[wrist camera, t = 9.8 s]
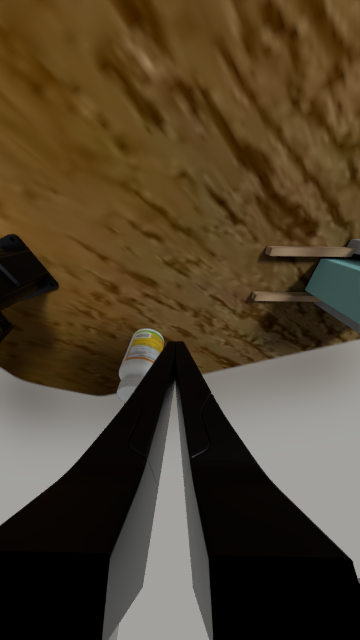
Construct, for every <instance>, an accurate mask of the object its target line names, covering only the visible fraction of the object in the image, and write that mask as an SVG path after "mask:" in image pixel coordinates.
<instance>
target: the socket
mask: <svg viewBox="0 0 360 640" xmlns="http://www.w3.org/2000/svg"><path fill="white" fill-rule="evenodd" d="M347 247H348V248H353V249H356V250H355V252H354V253H355V254H360V239H351V240H350V242H349V243H348V245H347ZM314 304H316V305H317V306H319V307H320V308H322V309H323V310H325V311H326V312H328V313H329V314H330V315H332V316H333V317H335V318H336V319H338V320H339V321H341V322H342V323H344V324H345V325H347V326H348V327H350V328H351V329H353V330H354V331H356V332H357V333H358V334H360V324H358V323H357V322H355V321H354V320H352V319H350V318H349V317H347V316H346V315H344V314H342V313H341V312H339V311H338V310H336V309H334V308H333V307H331V306H330V305H328V304H326V303H325V302H314Z"/></svg>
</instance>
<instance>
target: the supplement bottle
mask: <svg viewBox="0 0 360 640" xmlns="http://www.w3.org/2000/svg"><path fill="white" fill-rule="evenodd" d="M163 347H164V339H163V337H162V335H161V334H160V333H158V332H157V331H155V330H152V329H140V330H138V331H136V332H135V333H134V335H133V337H132V339H131V341H130V344H129V346H128V349H127V351H126V354H125V356H124V359H123V361H122V364H121V366H120V369H119V377H120V379H121V382H120V384H119V387H118V390H117V396H118V397H119V398H120V399H121V400H123V401H125V402H127V400H128V399H129V397H130V396H131V395H132V393H133V392H134V390H135V389H136V387H137V386H138V385H139V383H140V382H141V380H142V379H143V377H144V376H145V374H146V373H147V372H148V370H149V369H150V367H151V366H152V364H153V363H154V361H155V360H156V358H157V357H158V356H159V354H160V353H161V351H162V350H163Z"/></svg>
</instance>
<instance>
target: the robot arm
mask: <svg viewBox="0 0 360 640" xmlns="http://www.w3.org/2000/svg"><path fill="white" fill-rule="evenodd" d="M13 238H14V239H15V240H14V239H13ZM52 283H53V284H54V285H53V284H52ZM57 286H58V283H57V282H56V281H55V279H54V278H53V277H52V276H51V275H50V273H49V272H48V271H47V270H46V269H45V268H44V266H43V265H42V264H41V263H40V262H39V261H38V259H37V258H36V257H35V256H34V255H33V253H32V252H31V251H30V250H29V249H28V248H27V246H26V245H25V244H24V243H23V242H22V240H21V239H20V238H19V237H18V236H17V235H15V234H9V235H7V236H5V237H3V238H1V239H0V343H1V341H2V340H3V339H4V338H5V337H6V336H7V335H8V333H9V332H10V331H11V330H12V329H13V328H14V326H13V325H12V323H10V322H9V321H8V320H7V319H6V317H5V316H4V315H3V314H2V312H1V311H2V310H3V309H5V308H7V307H9V306H11V305H13V304H15V303H16V302H18V301H20V300H26V299H28V298H31V297H34V296H36V295H39V294H41V293H44V292H46V291H49V290H51V289H54V288H56V287H57ZM174 384H175V385H176V397H177V408H178V419H179V430H180V442H181V453H182V465H183V477H184V487H185V500H186V511H187V523H188V534H189V545H190V557H191V568H192V578H193V579H192V580H193V589H194V592H195V596H196V598H197V602H198V605H199V608H200V611H201V615H202V618H203V621H204V624H205V627H206V631H207V634H208V637H209V640H360V578H357V575H356V572H355V569H354V565H353V561H352V560H351V559H350V558H349V557H348V556H347V555H346V554H345V553H344V552H343V551H342V550H341V549H340V548H339V547H338V546H337V545H336V544H335V543H334V542H333V541H332V540H331V539H330V538H329V537H328V536H327V535H325V533H324V532H323V531H321V529H319V527H317V526H316V525H315V524H314V523H313V522H312V521H311V520H310V519H309V518H308V517H307V516H306V515H305V514H304V513H303V512H302V511H301V510H300V509H299V508H298V507H297V506H296V505H295V504H294V503H293V502H292V501H290V499H289V498H288V497H287V496H286V495H285V494H284V493H283V492H281V490H279V488H278V487H277V486H276V485H275V484H274V483H273V482H272V481H271V480H270V479H269V477H268V476H267V475H266V474H265V472H264V471H263V470H262V469H261V467H260V466H259V465H258V463H257V462H256V460H255V459H254V457H253V456H252V455H251V453H250V452H249V450H248V449H247V447H246V446H245V445H244V443H243V442H242V440H241V439H240V438H239V436H238V435H237V433H236V432H235V430H234V429H233V427H232V426H231V424H230V423H229V421H228V420H227V418H226V417H225V415H224V414H223V412H222V410H221V409H220V407H219V405H218V403H217V402H216V400H215V398H214V396H213V395H212V394H211V391H210V389H209V387H208V385H207V383H206V382H205V380H204V378H203V376H202V374H201V372H200V371H199V369H198V367H197V365H196V363H195V361H194V360H193V358H192V356H191V354H190V352H189V350H188V349H187V347H186V345H185V343H184V342H183V341H177V342H175V341H168V343H167V344H166V345H165V347H164V348H163V350H162V351H161V353H160V354H159V356H158V357H157V358H156V360H155V361H154V363H153V364H152V366H151V367H150V369H149V370H148V372H147V373H146V374H145V376H144V377H143V379H142V380H141V382H140V383H139V385H138V386H137V387H136V389H135V390H134V392H133V393H132V395H131V396H130V397H129V399H128V400H127V402H126V403H125V404H124V406H123V407H122V409H121V410H120V411H119V412H118V414H117V415H116V416H115V418H114V419H113V420H112V421H111V422H110V423H109V425H108V426H107V427H106V428H105V429H104V431H103V432H102V433H101V434H100V435H99V437H98V438H97V439H96V440H95V441H94V442H93V444H92V445H91V446H90V447H89V448H88V450H87V451H86V452H85V453H84V454H83V455H82V457H81V458H80V459H79V460H78V461H77V462H76V463H75V464H74V465H73V467H72V468H71V469H70V470H69V471H68V472H67V473H66V474H64V475H63V476H62V477H61V478H60V479H59V480H58V481H57V482H55V483H54V484H53V485H52V486H50V487H49V488H48V489H46V490H45V491H44V492H43V493H41V494H40V495H39V496H38V497H36V498H35V499H34V500H32V501H31V502H30V503H29V504H27V505H26V506H25V507H23V508H22V509H21V510H20V511H18V512H17V513H16V514H14V515H13V516H12V517H11V518H9V519H8V520H7V521H6V522H4V523H3V524H2V525H1V526H0V640H117V633H118V627H119V623H120V621H121V619H122V618H123V616H124V615H125V613H126V612H127V610H128V609H129V607H130V606H131V604H132V602H133V601H134V599H135V598H136V596H137V595H138V593H139V592H140V590H141V589H142V587H143V581H144V575H145V568H146V562H147V556H148V549H149V543H150V537H151V530H152V524H153V517H154V512H155V505H156V499H157V493H158V486H159V479H160V473H161V467H162V460H163V454H164V448H165V441H166V435H167V429H168V423H169V416H170V410H171V403H172V397H173V391H174Z"/></svg>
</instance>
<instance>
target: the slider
mask: <svg viewBox="0 0 360 640" xmlns="http://www.w3.org/2000/svg"><path fill="white" fill-rule="evenodd" d="M305 291H307V292H309V293H310V294H312V295H313V296H315V297H317V298H318V299H320V300H321V301H323V302H325V303H326V304H328V305H330V306H331V307H333V308H334V309H336V310H338V311H339V312H341V313H342V314H344V315H346V316H347V317H349V318H350V319H352V320H354V321H355V322H357V323H358V324H360V259H332V258H321V260H320V262H319V264H318V266H317V267H316V269H315V271H314V273H313V275H312V277H311V279H310V281H309V283H308V285H307V287H306V289H305Z"/></svg>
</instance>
